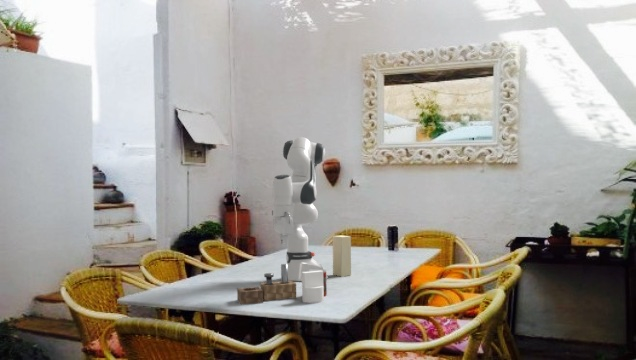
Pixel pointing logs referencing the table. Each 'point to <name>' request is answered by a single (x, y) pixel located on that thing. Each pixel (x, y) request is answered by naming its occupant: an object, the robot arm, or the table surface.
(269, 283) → the grey headed bolt
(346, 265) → the tall beige block
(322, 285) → the cylinder with rectangular tab
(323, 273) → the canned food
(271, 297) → the socket block
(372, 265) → the table surface
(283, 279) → the grey peg
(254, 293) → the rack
